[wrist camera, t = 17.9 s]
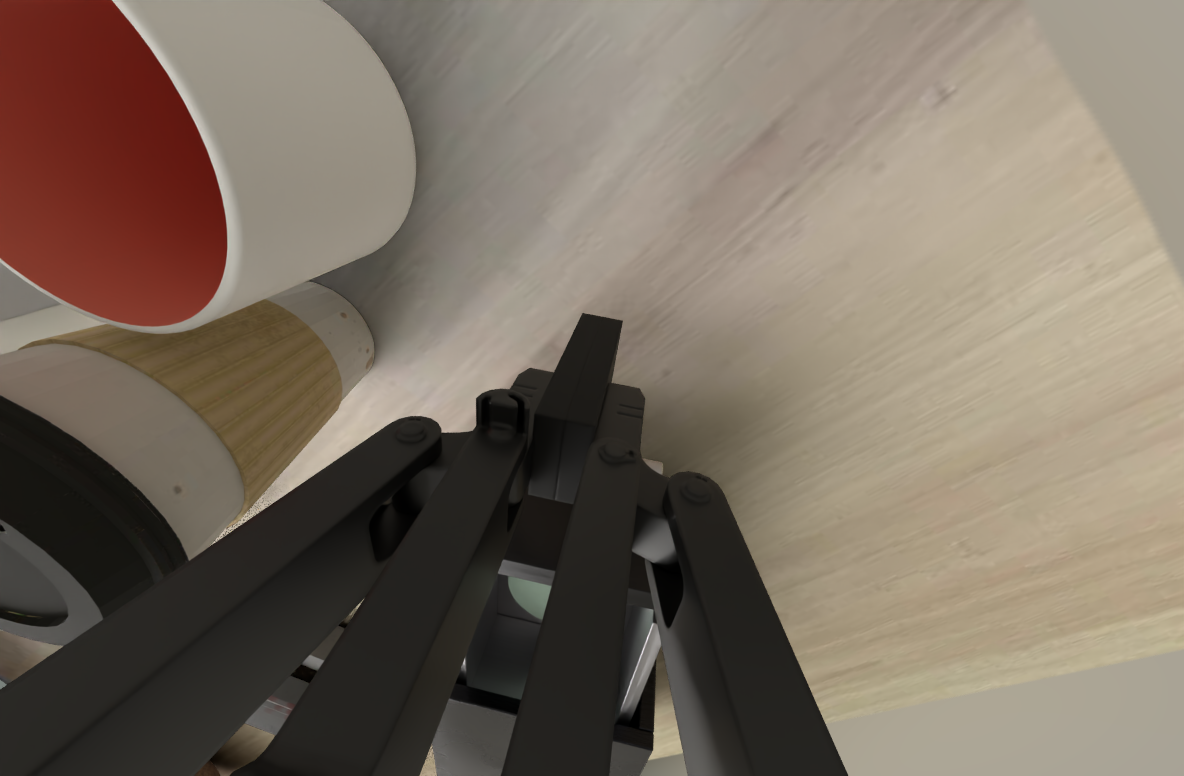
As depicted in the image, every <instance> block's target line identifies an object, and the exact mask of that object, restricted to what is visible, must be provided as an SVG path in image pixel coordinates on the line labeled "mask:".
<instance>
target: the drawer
mask: <svg viewBox="0 0 1184 776" xmlns="http://www.w3.org/2000/svg"><path fill="white" fill-rule="evenodd" d="M642 459H643V460H644V462H645V463H646V464H647V465H648V466H649V467H650V468H651V469H653V470H654V471H656V472H658V473H660V474H663V463H662V462H658V461H654V460H649V459H644V458H642ZM528 487H529V484H528V486H527V489H526V491H525V493H524V500H523V509H522V512H521V515H520V517H519V520H518V522H517V525H516V528H515V530H514V533H513V535H512V538H511V540H510V543H509V546H508V548H507V551H506V553H505V556H504V559H503V561H502V564H501V566H500V569H499V571H498V574H497V577H496V579H495V582H494V584H493V587H492V589H491V592H490V595H489V597H488V600H487V602H486V605H485V607H484V610H483V613H482V615H481V618H480V620H479V623H478V626H477V628H476V631H475V633H474V636H473V638H472V641H471V644H470V646H469V649H468V651H467V654H466V656H465V659H464V662H463V664H462V667H461V669H460V672H459V675H458V677H457V680H456V683H458V684H462V685H466V686H470V687H473V688H477V689H481V690H485V691H489V692H493V693H497V694H501V695H505V696H509V697H513V698H517V699H521V698H522V694H523V691H524V687H525V683H526V679H527V676H528V672H529V668H530V664H531V661H532V657H533V653H534V650H535V646H536V642H537V638H538V635H539V631H540V627H541V623H542V620H541V619H539V618H537V617H535V616H533V615H532V614H530V613H529V612H527V611H526V610H525V609H523V608H522V607H521V606H520V605H519V604H518V603H517V602H516V600H515V599H514V598H513V596H512V594H511V592H510V590H509V586H508V576H510V577H515V578H519V579H523V580H527V581H532V582H536V583H540V584H545V585H549V586H552V582H553V579H554V575H555V571H556V567H557V564H558V560H559V556H560V552H561V549H562V545H563V541H564V537H565V534H566V530H567V526H568V523H569V519H570V515H571V511H572V508H573V504H569V503H565V502H560V501H556V500H551V499H547V498H542V497H537V496H533V495H528ZM660 648H661V640H660V635H659V630H658V626H657V621H656V616H655V611H654V606H653V601H652V596H651V591H650V586H649V581H648V576H647V571H646V566H645V558H643V557H642V556H640V555H638V554H636V553H634V552H632V556H631V566H630V575H629V585H628V595H627V605H626V615H625V625H624V635H623V645H622V654H621V664H620V674H619V684H618V694H617V704H616V714H615V723H616V724H620V725H624V726H629V724H630V721H631V719H632V716H633V714H634V711H635V709H636V706H637V704H638V701H639V699H640V697H641V694H642V692H643V689H644V687H645V684H646V682H647V679H648V677H649V674H650V672H651V670H652V667H653V665H654V662H655V660H656V657H657V655H658V652H659V650H660Z"/></svg>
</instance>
